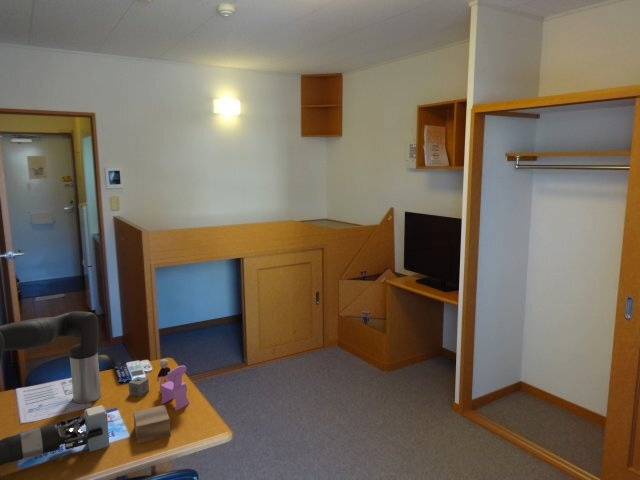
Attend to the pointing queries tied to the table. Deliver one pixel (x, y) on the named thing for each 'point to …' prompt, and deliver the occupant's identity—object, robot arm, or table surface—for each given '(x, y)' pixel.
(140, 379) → the dice cube
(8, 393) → the table surface
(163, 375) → the grandmother figurine
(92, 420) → the slate-blue canister
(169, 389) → the toy chair
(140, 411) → the walnut block
